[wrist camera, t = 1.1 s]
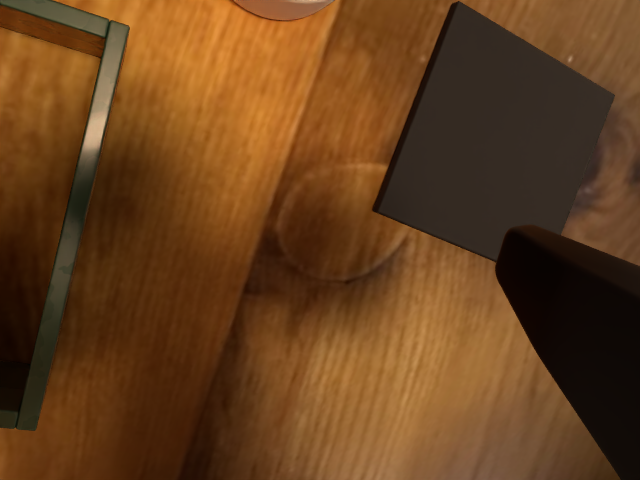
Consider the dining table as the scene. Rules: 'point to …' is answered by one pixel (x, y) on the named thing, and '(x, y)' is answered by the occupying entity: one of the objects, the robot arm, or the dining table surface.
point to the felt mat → (492, 138)
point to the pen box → (110, 45)
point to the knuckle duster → (283, 8)
